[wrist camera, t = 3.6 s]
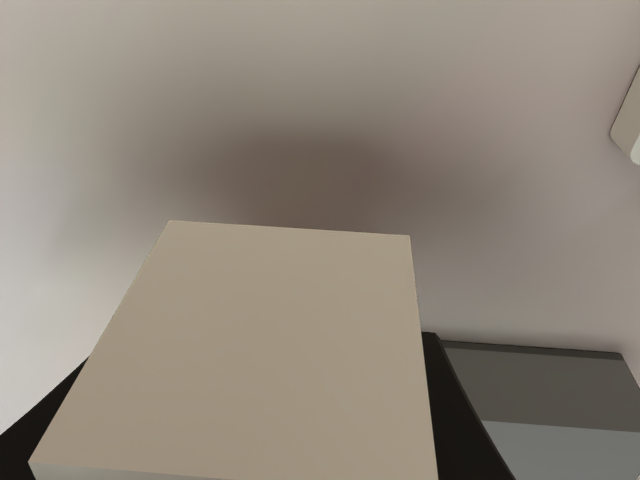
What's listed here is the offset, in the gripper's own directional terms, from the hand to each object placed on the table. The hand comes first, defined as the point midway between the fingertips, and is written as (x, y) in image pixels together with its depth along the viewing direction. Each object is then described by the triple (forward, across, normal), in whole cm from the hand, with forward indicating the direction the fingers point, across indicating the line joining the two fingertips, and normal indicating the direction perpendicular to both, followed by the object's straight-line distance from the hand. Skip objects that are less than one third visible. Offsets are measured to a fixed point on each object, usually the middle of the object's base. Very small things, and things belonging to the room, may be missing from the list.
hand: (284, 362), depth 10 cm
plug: (+2, 0, 0) cm, 2 cm away
